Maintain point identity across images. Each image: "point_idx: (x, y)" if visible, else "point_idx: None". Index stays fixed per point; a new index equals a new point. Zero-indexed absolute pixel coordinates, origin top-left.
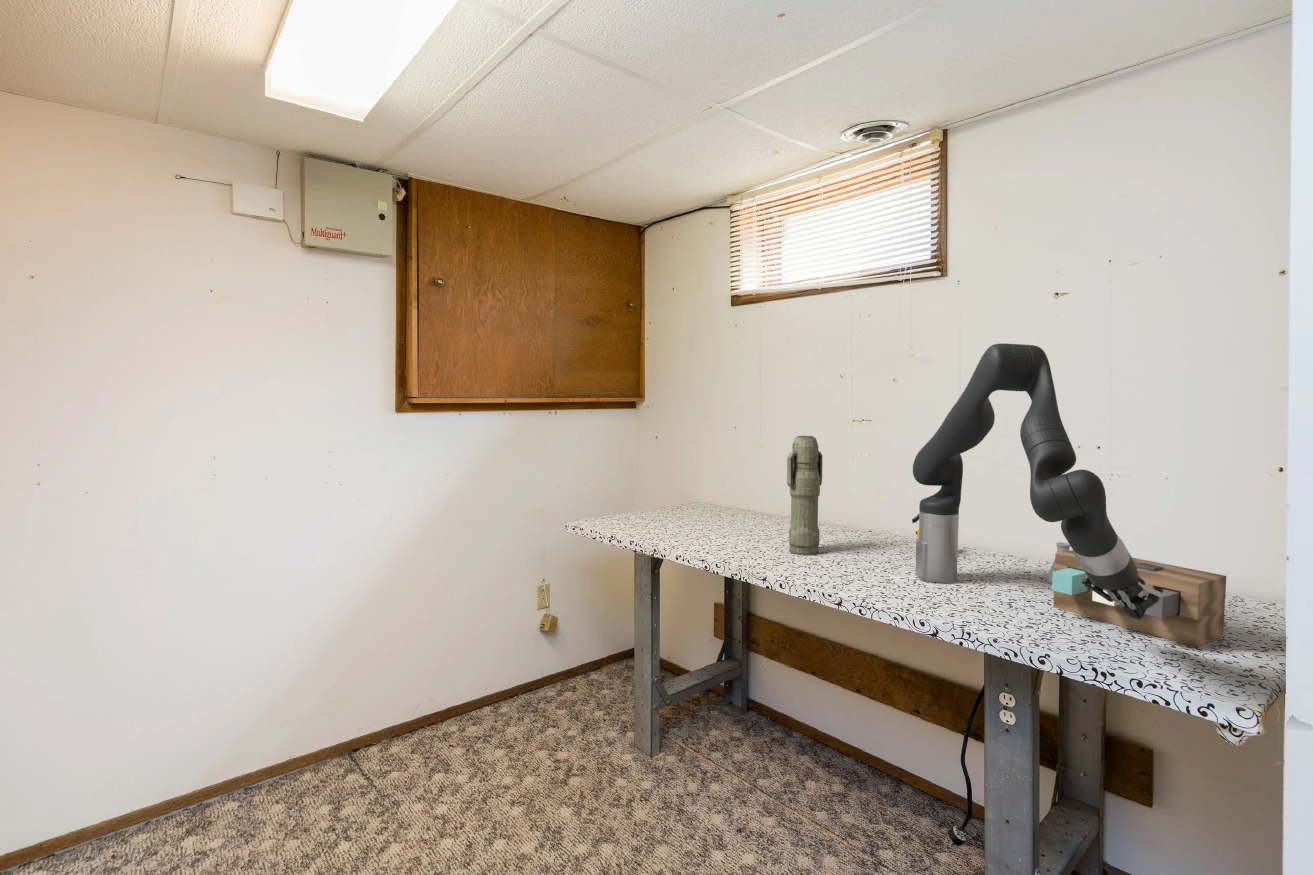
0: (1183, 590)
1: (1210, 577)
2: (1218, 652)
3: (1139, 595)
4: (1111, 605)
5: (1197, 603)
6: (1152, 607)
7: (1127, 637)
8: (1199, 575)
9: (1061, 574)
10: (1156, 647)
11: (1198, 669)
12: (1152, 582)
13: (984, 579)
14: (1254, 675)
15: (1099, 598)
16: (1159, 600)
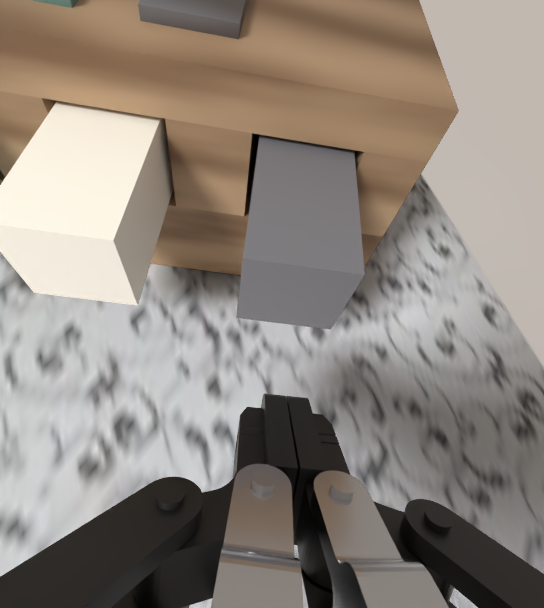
0: (377, 147)
1: (407, 20)
2: (394, 286)
3: (380, 522)
4: (125, 303)
5: (408, 190)
6: (302, 304)
7: (202, 355)
8: (374, 15)
9: None
10: (295, 380)
11: (457, 492)
12: (251, 119)
13: None
14: (528, 397)
15: (61, 285)
16: (344, 286)
